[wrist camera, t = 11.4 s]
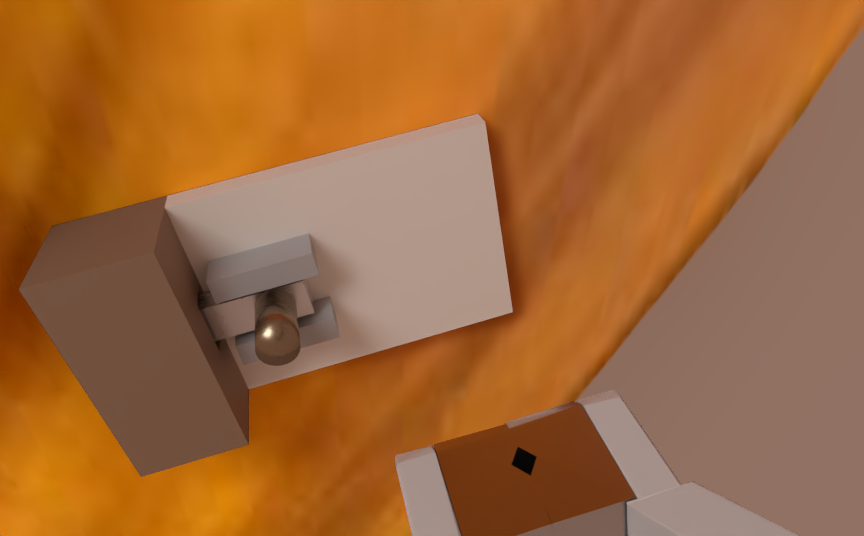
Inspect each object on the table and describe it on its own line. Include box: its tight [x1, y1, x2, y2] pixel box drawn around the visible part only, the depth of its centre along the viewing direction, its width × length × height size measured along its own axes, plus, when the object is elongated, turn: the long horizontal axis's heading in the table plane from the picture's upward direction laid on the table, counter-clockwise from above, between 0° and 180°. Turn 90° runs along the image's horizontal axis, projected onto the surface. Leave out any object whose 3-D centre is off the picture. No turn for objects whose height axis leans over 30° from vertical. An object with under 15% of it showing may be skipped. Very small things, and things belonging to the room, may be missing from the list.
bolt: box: [197, 279, 314, 366], centre depth 38 cm, size 10×2×6 cm, turn 101°
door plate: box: [19, 114, 513, 477], centre depth 40 cm, size 25×14×6 cm, turn 101°
